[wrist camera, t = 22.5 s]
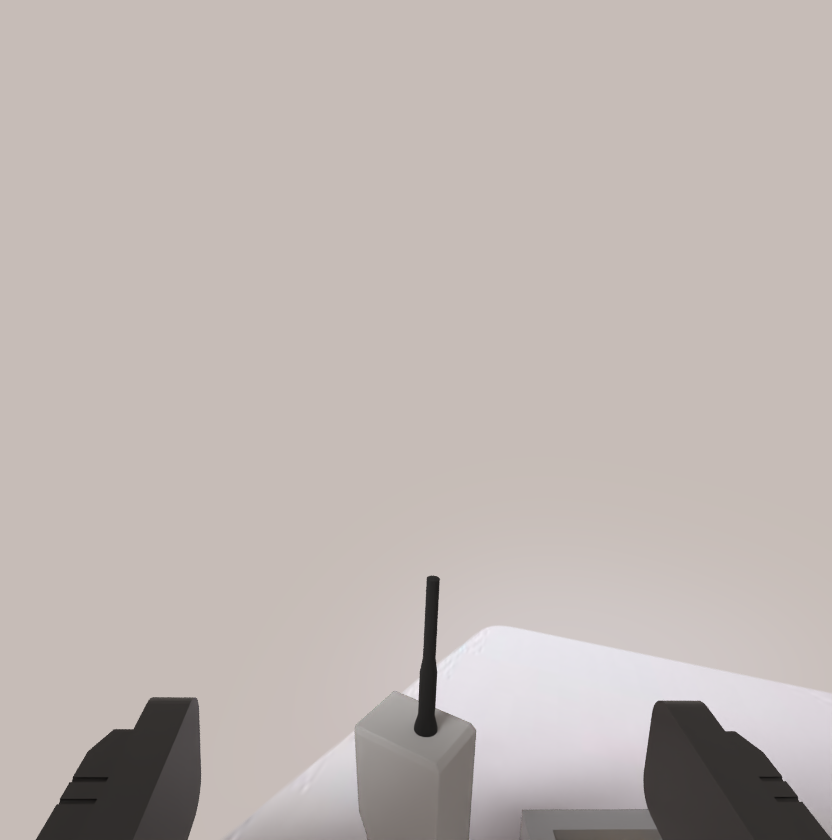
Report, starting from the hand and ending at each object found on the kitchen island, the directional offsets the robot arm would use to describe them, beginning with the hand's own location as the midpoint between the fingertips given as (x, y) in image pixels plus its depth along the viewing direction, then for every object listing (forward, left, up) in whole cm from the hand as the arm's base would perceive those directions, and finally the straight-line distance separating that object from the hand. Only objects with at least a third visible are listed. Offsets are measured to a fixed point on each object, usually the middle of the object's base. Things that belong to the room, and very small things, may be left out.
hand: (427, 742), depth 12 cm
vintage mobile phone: (+1, +20, -31) cm, 37 cm away
